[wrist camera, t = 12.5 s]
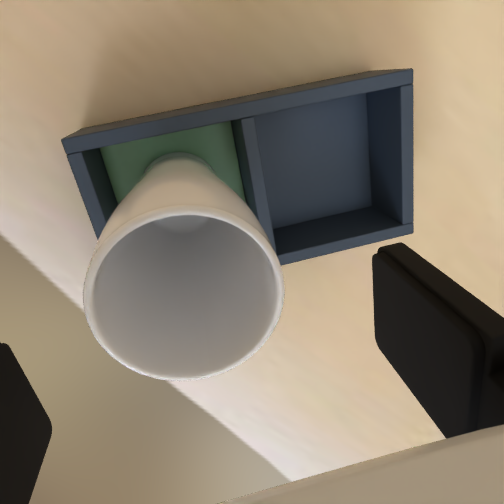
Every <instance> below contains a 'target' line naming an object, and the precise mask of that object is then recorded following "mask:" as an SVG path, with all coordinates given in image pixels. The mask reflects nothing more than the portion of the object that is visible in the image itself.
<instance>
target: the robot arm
mask: <svg viewBox="0 0 504 504" xmlns="http://www.w3.org/2000/svg"><path fill="white" fill-rule="evenodd" d="M372 270H373V298H374V326H375V339H376V342H377V345H378V347H379V349H380V350H381V352H382V353H383V354H384V356H385V357H386V358H387V360H388V361H389V362H390V364H391V365H392V366H393V368H394V369H395V370H396V372H397V373H398V374H399V376H400V377H401V378H402V380H403V381H404V382H405V384H406V385H407V386H408V388H409V389H410V390H411V392H412V393H413V395H414V396H415V397H416V399H417V400H418V401H419V403H420V404H421V405H422V407H423V408H424V409H425V411H426V412H427V413H428V415H429V416H430V417H431V419H432V420H433V421H434V423H435V424H436V425H437V427H438V428H439V429H440V431H441V432H442V433H443V435H444V436H445V437H446V439H444V440H440V441H436V442H432V443H429V444H425V445H421V446H417V447H413V448H410V449H406V450H403V451H399V452H396V453H392V454H388V455H385V456H381V457H378V458H374V459H371V460H367V461H364V462H360V463H357V464H353V465H350V466H346V467H343V468H339V469H336V470H332V471H329V472H325V473H322V474H318V475H315V476H311V477H308V478H304V479H301V480H297V481H293V482H290V483H286V484H283V485H280V486H276V487H273V488H269V489H266V490H262V491H259V492H255V493H252V494H248V495H245V496H241V497H238V498H235V499H231V500H228V501H224V502H221V503H218V504H504V318H503V317H502V316H500V315H499V314H498V313H496V312H495V311H494V310H492V309H491V308H490V307H488V306H487V305H486V304H484V303H483V302H482V301H480V300H479V299H478V298H476V297H475V296H474V295H472V294H471V293H469V292H468V291H467V290H465V289H464V288H463V287H461V286H460V285H459V284H457V283H456V282H455V281H453V280H452V279H451V278H449V277H448V276H447V275H445V274H444V273H443V272H441V271H440V270H439V269H437V268H436V267H435V266H433V265H432V264H431V263H429V262H428V261H426V260H425V259H424V258H422V257H421V256H420V255H418V254H417V253H416V252H414V251H413V250H412V249H410V248H409V247H408V246H406V245H405V244H403V243H396V244H392V245H387V246H383V247H380V248H379V249H378V253H377V254H374V255H373V257H372ZM51 434H52V425H51V421H50V419H49V417H48V415H47V414H46V412H45V410H44V408H43V406H42V404H41V403H40V401H39V399H38V397H37V395H36V394H35V392H34V390H33V388H32V387H31V385H30V383H29V381H28V379H27V377H26V376H25V374H24V372H23V370H22V368H21V367H20V365H19V363H18V361H17V359H16V358H15V356H14V354H13V352H12V351H11V348H10V347H9V346H8V345H7V344H5V343H2V344H1V343H0V504H29V501H30V498H31V495H32V492H33V489H34V486H35V483H36V480H37V477H38V474H39V471H40V468H41V465H42V462H43V459H44V456H45V453H46V450H47V447H48V444H49V441H50V438H51Z"/></svg>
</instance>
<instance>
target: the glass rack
mask: <svg viewBox="0 0 504 504" xmlns="http://www.w3.org/2000/svg"><path fill="white" fill-rule="evenodd" d="M412 83H413V69H412V68H410V69H393V70H376V71H368V72H363V73H358V74H353V75H348V76H343V77H338V78H332V79H327V80H322V81H317V82H312V83H307V84H302V85H297V86H292V87H287V88H282V89H277V90H272V91H267V92H262V93H257V94H252V95H247V96H242V97H237V98H232V99H227V100H222V101H217V102H212V103H207V104H202V105H197V106H192V107H187V108H182V109H177V110H172V111H167V112H162V113H157V114H152V115H147V116H142V117H137V118H132V119H127V120H122V121H117V122H112V123H107V124H102V125H97V126H92V127H87V128H82V129H80V130H78V131H76V132H74V133H72V134H71V135H69V136H67V137H65V138H63V139H61V142H62V144H63V147H64V150H65V152H66V154H67V158H68V161H69V164H70V166H71V169H72V172H73V174H74V177H75V180H76V183H77V185H78V188H79V191H80V193H81V196H82V199H83V201H84V204H85V207H86V210H87V212H88V215H89V218H90V220H91V223H92V226H93V228H94V231H95V234H96V237H97V239H99V237H100V235H101V233H102V231H103V228H104V226H105V224H106V223H107V221H108V219H109V217H110V216H111V214H112V213H113V211H114V209H115V208H116V207H117V205H118V204H119V203H120V202H121V200H122V199H123V198H124V197H125V195H126V194H127V193H128V192H129V191H130V190H131V189H132V187H133V186H134V185H135V184H136V183H137V182H138V181H139V179H140V178H141V176H142V174H143V172H144V171H145V169H146V168H147V167H148V165H149V164H150V163H151V162H153V161H154V160H155V159H157V158H158V157H160V156H162V155H165V154H168V153H173V152H186V153H191V154H194V155H196V156H198V157H200V158H202V159H203V160H205V161H206V162H207V163H208V164H209V165H210V166H211V167H212V168H213V169H214V171H215V172H216V174H217V175H218V176H219V177H220V178H221V179H222V180H223V181H224V182H225V183H226V184H227V185H229V186H230V187H231V188H232V189H233V190H234V191H235V192H236V193H237V194H238V195H239V196H240V197H241V198H242V199H243V200H244V201H245V203H246V204H247V205H248V206H249V208H250V209H251V210H252V211H253V213H254V214H255V216H256V217H257V219H258V220H259V222H260V224H261V225H262V227H263V229H264V230H265V232H266V234H267V236H268V238H269V240H270V242H271V244H272V247H273V249H274V251H275V253H276V255H277V257H278V259H279V262H280V265H285V264H289V263H293V262H297V261H301V260H306V259H310V258H314V257H318V256H322V255H326V254H330V253H334V252H338V251H342V250H346V249H351V248H355V247H359V246H363V245H367V244H371V243H375V242H379V241H383V240H387V239H392V238H396V237H400V236H404V235H408V234H412V233H413V84H412Z"/></svg>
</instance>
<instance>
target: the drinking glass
mask: <svg viewBox="0 0 504 504" xmlns="http://www.w3.org/2000/svg"><path fill="white" fill-rule="evenodd" d="M284 295H285V284H284V276H283V272H282V268H281V265H280V262H279V259H278V257H277V255H276V253H275V251H274V249H273V247H272V244H271V242H270V240H269V238H268V236H267V234H266V232H265V230H264V229H263V227H262V225H261V224H260V222H259V220H258V219H257V217H256V216H255V214H254V213H253V211H252V210H251V209H250V208H249V206H248V205H247V204H246V203H245V201H244V200H243V199H242V198H241V197H240V196H239V195H238V194H237V193H236V192H235V191H234V190H233V189H232V188H231V187H230V186H229V185H227V184H226V183H225V182H224V181H223V180H222V179H221V178H220V177H219V176H218V175H217V174H216V172H215V171H214V169H213V168H212V167H211V166H210V165H209V164H208V163H207V162H206V161H205V160H203V159H202V158H200V157H198V156H196V155H194V154H191V153H186V152H173V153H168V154H165V155H162V156H160V157H158V158H157V159H155V160H154V161H153V162H151V163H150V164H149V165H148V167H147V168H146V169H145V171H144V172H143V174H142V176H141V178H140V179H139V181H138V182H137V183H136V184H135V185H134V186H133V187H132V189H131V190H130V191H129V192H128V193H127V194H126V195H125V197H124V198H123V199H122V200H121V202H120V203H119V204H118V205H117V207H116V208H115V209H114V211H113V213H112V214H111V216H110V217H109V219H108V221H107V223H106V224H105V226H104V228H103V231H102V233H101V235H100V237H99V239H98V242H97V244H96V247H95V250H94V253H93V255H92V258H91V261H90V265H89V268H88V270H87V273H86V277H85V282H84V289H83V303H84V311H85V315H86V319H87V321H88V324H89V327H90V329H91V331H92V333H93V335H94V336H95V338H96V339H97V341H98V342H99V344H100V345H101V346H102V347H103V349H104V350H105V351H106V352H107V353H108V354H109V355H110V356H111V357H113V358H114V359H115V360H116V361H118V362H119V363H121V364H122V365H124V366H125V367H127V368H129V369H131V370H133V371H135V372H137V373H140V374H142V375H146V376H148V377H152V378H157V379H162V380H169V381H191V380H199V379H204V378H209V377H212V376H216V375H219V374H221V373H224V372H226V371H229V370H231V369H232V368H234V367H236V366H238V365H240V364H241V363H243V362H244V361H246V360H247V359H248V358H250V357H251V356H252V355H253V354H255V353H256V352H257V351H258V350H259V349H260V348H261V347H262V346H263V344H264V343H265V342H266V341H267V340H268V338H269V337H270V335H271V334H272V332H273V330H274V329H275V327H276V325H277V323H278V320H279V318H280V315H281V312H282V308H283V303H284Z"/></svg>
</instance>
